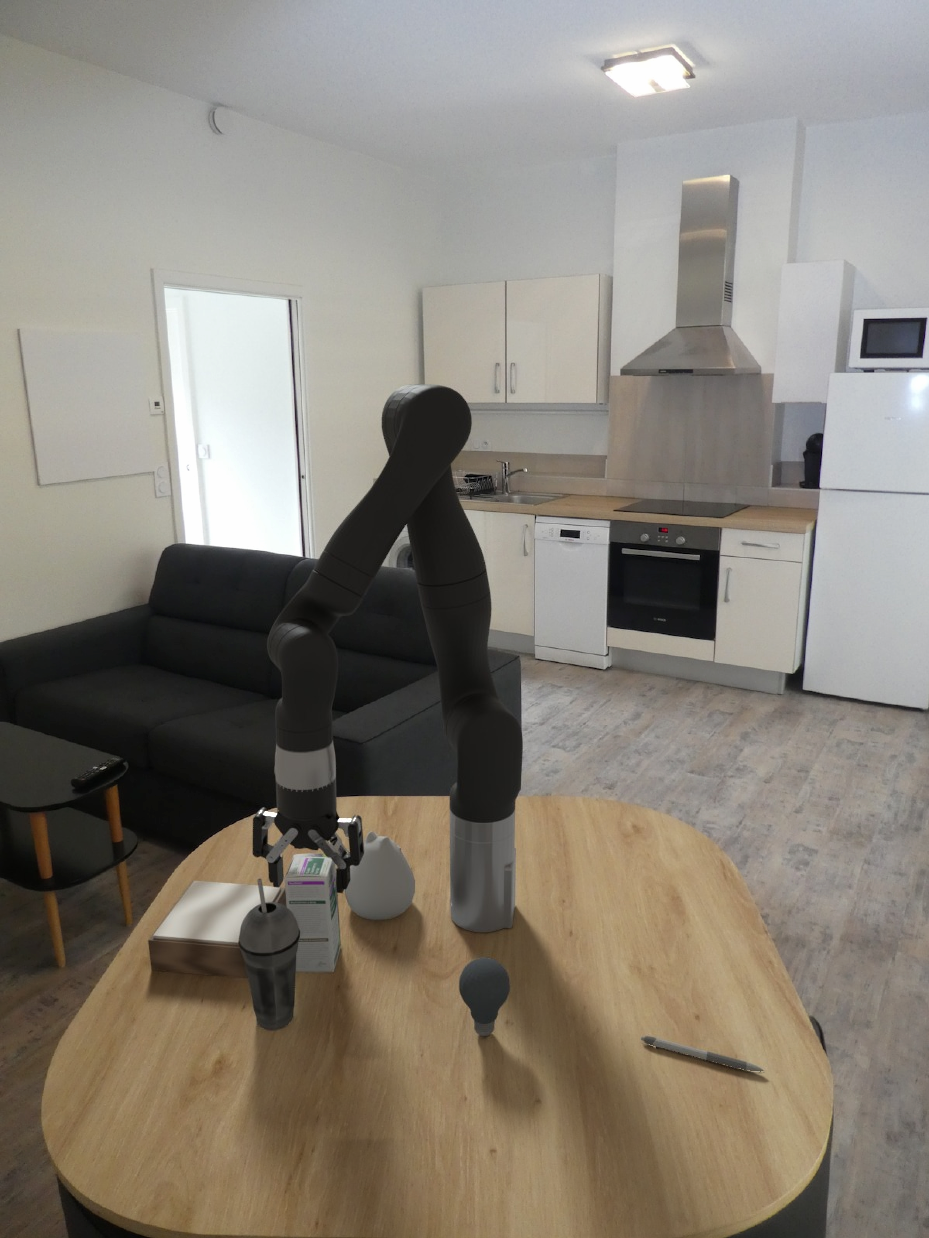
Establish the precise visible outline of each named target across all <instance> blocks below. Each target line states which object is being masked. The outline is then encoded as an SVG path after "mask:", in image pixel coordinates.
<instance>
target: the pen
mask: <svg viewBox="0 0 929 1238" xmlns="http://www.w3.org/2000/svg"><path fill="white" fill-rule="evenodd" d="M640 1039H641V1041H643V1042H644V1043H645V1044H646V1045H647V1044H650V1045H653V1046H656V1047H657V1048H661V1049H663V1048H665V1049H664V1050H667V1049H668V1050H667V1051H671V1050H672V1051H671V1052H674V1051H675V1052H674V1053H678V1052H680V1053H679V1054H682V1053H683V1055H684V1054H688V1055H691V1056H690V1057H693V1056H694V1057H693V1058H696V1057H700V1058H702V1059H701V1060H703V1059H705V1060H704V1061H706V1060H708V1061H707V1062H709V1061H714V1062H717V1063H719V1064H718V1065H720V1064H725V1065H728V1066H732V1067H735V1068H741V1069H744V1070H750V1071H760V1072H761V1071H765V1070H764V1069H763V1068H761V1067H760V1066H758V1065H756V1064H753V1063H750V1062H748V1061H744V1060H741V1059H737V1058H734V1057H729V1056H726V1055H722V1054H718V1053H715V1052H711V1051H708V1050H702V1049H699V1048H696V1047H692V1046H688V1045H684V1044H680V1043H676V1042H673V1041H670V1040H665V1039H661V1038H658V1037H654V1036H649V1035H646V1036H640ZM700 1058H699V1059H700ZM717 1063H716V1064H717ZM728 1066H727V1067H728ZM735 1068H734V1069H735Z"/></svg>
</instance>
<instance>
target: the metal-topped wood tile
mask: <svg viewBox="0 0 929 1238" xmlns="http://www.w3.org/2000/svg"><path fill="white" fill-rule="evenodd" d="M263 891H264V897H265V902H277V903H280V904H282V905H284V906H285V907H287V904H286V891H285V887H281V886H280V887H279V888H278V887H273V885H272V886H271V885H263ZM259 904H261V901H260V894H259V888H258V884H256V885H255V884H245V883H244V884H243V883H229V882H217V881H206V880H203V881H201V880H192V881H191V882H190V884H189V885H188V886H187V888H186V889H185V890H184V892H182V894H181V896H180V897H179V898H178V900H177V901H176V902H175V904H174V905H173V906H172V907H171V909H170V910H169V912H168V913H167V914H166V915H165V917H164V918H163V920H161V922H160V924H159V925H158V926H157V927H156V929H155V930H154V931H153V932H152V934H150V937H149V938H148V940H147V944H148V951H149V959H150V960H149V961H150V969H151V971H158V972H159V971H161V972H171V973H182V974H183V973H184V974H192V975H204V976H215V977H227V978H236V979H237V978H238V979H247V980H248V976H247V970H246V965H245V960H244V958H243V955H242V952H241V949H240V946H239V944H238V941H239V934H240V928H241V924H242V921H243V920H244V918H245V916H246V915H247V914H248V912H249V911H250V910H252V909H253V908H254V907H255V906H257V905H259Z"/></svg>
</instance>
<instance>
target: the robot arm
mask: <svg viewBox="0 0 929 1238" xmlns="http://www.w3.org/2000/svg"><path fill="white" fill-rule="evenodd" d="M472 417H473V416H472V414H471V409H470V407H469V404H468V401H466V399H465V398H464V396H463V395H461V393H460V392H458V391H457V390H455V389H453V388H452V387H448V386H445V385H440V384H429V383H428V384H425V383H421V384H419V383H418V384H417V383H416V384H408V385H407V384H406V385H403V386H401V387H398V388H397V389H395V390H394V391H393V392H392V393H391V394H390V395H389V396H388V398H387V400H386V402H385V403H384V406H383V408H382V412H381V432H382V436H383V440H384V443H385V446H386V450H387V453H388V456H389V457H388V458H387V461H386V463H385V465H384V467H383V469H382V470H381V472H380V473H379V475H378V477H377V479H376V480H375V481H374V483H373V484H372V486H371V487H370V489H368V491H367V492H366V494H365V495H364V496H363V497H362V498H361V499H360V501H359V502H358V503H357V504H356V505H355V507H354V508H353V509H351V511H349V513H348V514H347V515H346V517H345V518H344V519H343V520H342V522H341V523H340V524H339V526H338V527H337V528H336V530H334V532H333V534H332V535H331V537H330V538H329V540H328V542H327V543H326V545H325V546H324V549H323V551H322V553H320V556H319V558H318V560H317V561H316V563H315V564H314V566H313V569H312V570H311V573H310V574H309V577H308V579H307V581H306V582H305V584H303V586H302V587H301V588H300V589H299V590H298V591H297V592H296V593H295V594H294V596H293V597H292V598H291V599H290V600H289V602H288V603H287V604H286V606H285V607H284V608H283V609H282V610H281V612H280V613H279V614H278V616H277V618H276V619H275V621H274V622H273V624H272V627H271V629H270V631H269V634H268V636H267V640H266V650H267V655H268V656H269V659H270V660H271V662H272V664H274V665H275V666H276V667H277V668H278V670H279V671H280V674H281V685H282V686H281V697H280V698H279V700H278V702H276V706H275V713H274V718H275V720H274V723H275V725H274V726H275V744H276V745H275V753H274V754H275V755H274V768H273V769H274V771H273V772H274V775H275V792H276V794H275V795H276V810H277V812H273V811H272V812H271V811H269V810H268V808H266V807H260V809H258V811H257V812H256V813H255V815H254V817H253V818H252V850H251V851H252V855H253V857H255V858H260V857H261V858H263V859H265V860H266V862H267V869H268V880H269V883H270V884H272V887H278V888H279V887H281V886H282V883H283V881H284V878H285V876H284V856H283V855H282V853H283V852H284V851H285V850H286V849H287V848H288V846H289V845H290V846H292V847H294V849H295V850H296V849H299V850H301V849H308V850H311V851H318V850H319V849H320V850H321V851H322V852H323V854H325V855H326V856H327V857H328V858H331V859H332V860H333V862H334V863H335V866H336V886H337V894H343V893H344V892H345V889H347V887H348V885H349V882H350V866H351V865H353V866H358V865H359V864H360V862H361V860H362V857H363V855H364V833H363V831H364V829H363V822H362V821H363V820H362V817H361V816H360V815H359V814H355V815H353V816H352V818H341V817H340V815H339V813H338V810H337V809H338V808H337V805H338V803H337V770H336V769H337V767H336V765H337V762H336V752H335V745H334V735H333V734H334V733H333V729H334V727H333V711H332V710H333V709H332V708H333V702H334V699H335V694H336V690H337V682H338V675H339V659H338V658H339V656H338V649H337V647H336V644H335V642H334V640H333V638H332V637H331V636H330V635H329V634H330V632H331V631H332V629H333V628H334V626H335V625H336V624H337V622H338V621H339V619H340V618H341V617H343V616H344V617H345V616H350V615H352V614H354V613H355V612H356V610H357V609H358V608H359V606H360V605H361V603H362V602H363V601H364V597H365V596H366V595H367V593H368V591H369V589H370V587H371V586H372V584H373V582H374V580H375V578H376V577H377V575H378V572H379V571H380V569H381V567H382V566H383V563H384V562H385V560H386V558H387V557H388V555H389V554H390V551H391V550H392V548H393V546H394V545H395V544H396V541H397V540H398V538H399V537H400V536H401V534H402V532H403V531H404V529H405V528H406V530H407V535H408V540H409V547H410V551H411V556H412V561H413V567H414V568H413V569H414V575H415V581H416V585H417V590H418V591H417V592H418V597H419V601H420V605H421V610H422V613H423V617H424V622H425V627H426V630H427V635H428V638H429V642H430V645H431V649H432V652H433V656H434V658H435V659H434V660H435V663H436V668H437V675H438V683H439V695H440V706H441V707H440V708H441V718H442V728H443V731H444V732H443V733H444V736H445V739H446V740H447V742H448V743H449V745H450V746H451V748H452V749H453V751H454V752H455V754H456V760H457V761H456V782H455V783H454V784H452V787H451V788H450V790H449V892H450V893H449V895H450V896H449V906H450V907H449V908H450V909H449V911H450V917H451V920H452V922H453V923H455V924H456V925H457V926H458V927H460V928H461V929H463V930H467V931H469V932H475V933H490V932H495V931H499V930H501V929H512V928H513V925H514V924H513V922H514V915H515V908H516V880H517V879H516V872H517V871H516V869H517V867H516V865H517V864H516V863H517V848H516V847H515V844H516V843H515V841H516V803H517V802H516V801H517V798H518V796H519V794H520V791H521V784H522V770H523V754H524V752H523V750H524V749H523V747H524V745H523V743H524V741H523V732H522V728H521V724H520V721H518V719H517V717H516V715H514V714H513V713H512V712H511V711H510V710H509V709H508V708H507V707H506V706H505V705H504V703H502V702H501V701H502V700H500V698H499V696H498V693H497V689H496V687H495V682H494V679H493V675H492V669H491V667H490V660H489V654H488V642H489V636H490V628H491V621H492V611H493V610H492V596H491V595H492V594H491V587H490V583H489V576H488V571H487V565H486V560H485V557H484V553H483V551H482V547H481V545H480V542H479V540H478V538H477V536H476V535H477V534H476V533H475V530H474V528H473V527H472V524H471V522H470V521H469V518H468V516H467V515H466V514H467V513H465V510H464V508H463V506H462V502H460V499H459V496H458V492H457V490H456V487H455V486H456V485H455V481H454V476H453V469H452V464H453V462H454V461H455V460H456V459H457V457H458V455H460V453H461V452H462V450H463V449H464V447H465V446H466V445H467V442H468V440H469V437H470V435H471V431H472V425H473V422H472V421H473V419H472ZM273 824H274V825H275V827H276V829H277V830H278V831H279V832H280V833H281V836H280V837H279V839H278V840H277V841H276V843H274V844H273V845H272V844H269V829H270V827H271V826H272V825H273ZM339 829H341V830H342V832H343V835H344V836H345V837H348V845H349V850H348V848H346V846H345V845H344V843H343V840H342V837H340V836H339V834H338V833H337V831H338V830H339Z"/></svg>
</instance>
